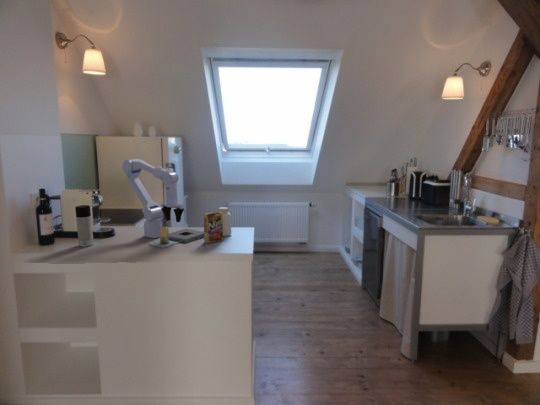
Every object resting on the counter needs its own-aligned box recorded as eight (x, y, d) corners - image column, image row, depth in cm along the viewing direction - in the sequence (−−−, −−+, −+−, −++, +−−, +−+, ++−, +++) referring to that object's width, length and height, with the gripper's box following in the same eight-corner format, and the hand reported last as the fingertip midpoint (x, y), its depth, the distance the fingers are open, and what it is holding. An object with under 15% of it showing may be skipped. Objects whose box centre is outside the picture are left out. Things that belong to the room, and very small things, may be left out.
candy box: (207, 243, 191) (206, 214, 188) (204, 241, 194) (202, 212, 192) (223, 241, 196) (222, 212, 193) (219, 239, 199) (218, 210, 197)
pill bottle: (219, 237, 203) (218, 209, 200) (214, 233, 210) (213, 207, 207) (233, 235, 206) (232, 208, 204) (228, 232, 213) (227, 206, 211)
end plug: (158, 243, 190) (157, 227, 189) (165, 241, 194) (164, 226, 193) (164, 244, 188) (163, 229, 187) (171, 242, 192) (170, 227, 190)
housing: (164, 238, 201) (163, 235, 201) (186, 232, 214) (185, 228, 214) (185, 243, 192) (185, 239, 192) (207, 236, 205) (207, 232, 205)
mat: (149, 245, 189) (149, 244, 189) (165, 240, 198) (165, 239, 198) (163, 248, 184) (163, 247, 184) (178, 243, 192) (178, 242, 192)
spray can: (96, 244, 192) (93, 205, 189) (86, 247, 186) (82, 207, 182) (86, 242, 194) (82, 204, 191) (75, 246, 188) (71, 206, 184)
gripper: (156, 195, 198) (158, 221, 200) (175, 197, 190) (177, 224, 192) (166, 194, 204) (168, 218, 206) (185, 195, 196) (187, 221, 198)
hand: (173, 221), depth 199 cm, fingers open, 7 cm apart
